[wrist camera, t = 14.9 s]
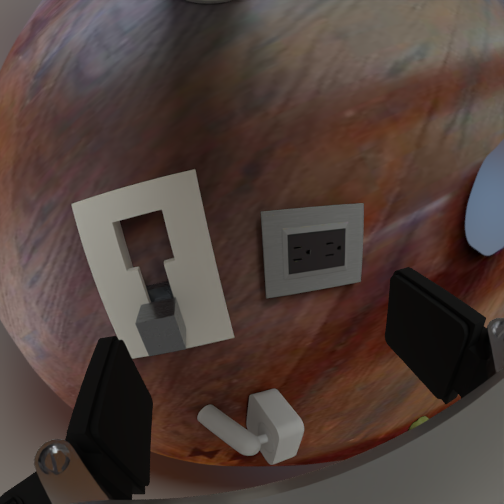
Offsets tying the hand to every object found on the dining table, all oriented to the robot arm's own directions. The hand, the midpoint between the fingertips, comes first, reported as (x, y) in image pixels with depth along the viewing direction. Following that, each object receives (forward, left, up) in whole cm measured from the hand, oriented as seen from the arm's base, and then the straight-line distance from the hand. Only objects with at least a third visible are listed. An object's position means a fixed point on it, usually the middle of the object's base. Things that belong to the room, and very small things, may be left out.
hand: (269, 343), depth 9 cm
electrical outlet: (+7, +11, -26) cm, 29 cm away
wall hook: (+31, -3, -26) cm, 40 cm away
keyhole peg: (+9, -8, -25) cm, 28 cm away
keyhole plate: (+5, -8, -25) cm, 27 cm away
